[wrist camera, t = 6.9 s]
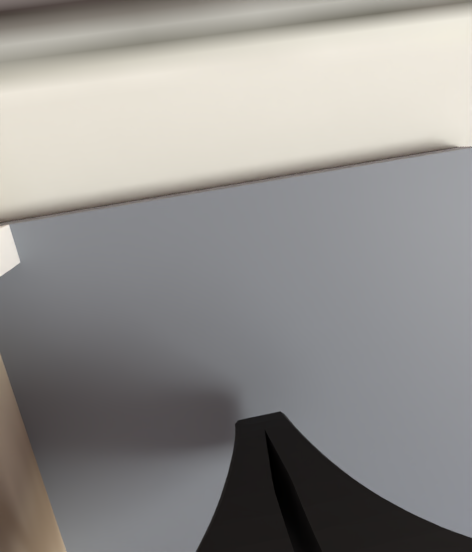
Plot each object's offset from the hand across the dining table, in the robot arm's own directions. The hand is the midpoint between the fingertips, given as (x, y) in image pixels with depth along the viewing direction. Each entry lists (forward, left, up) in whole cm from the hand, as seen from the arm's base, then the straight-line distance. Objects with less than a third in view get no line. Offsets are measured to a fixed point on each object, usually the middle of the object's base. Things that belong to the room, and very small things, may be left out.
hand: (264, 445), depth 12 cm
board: (0, +6, -2) cm, 6 cm away
